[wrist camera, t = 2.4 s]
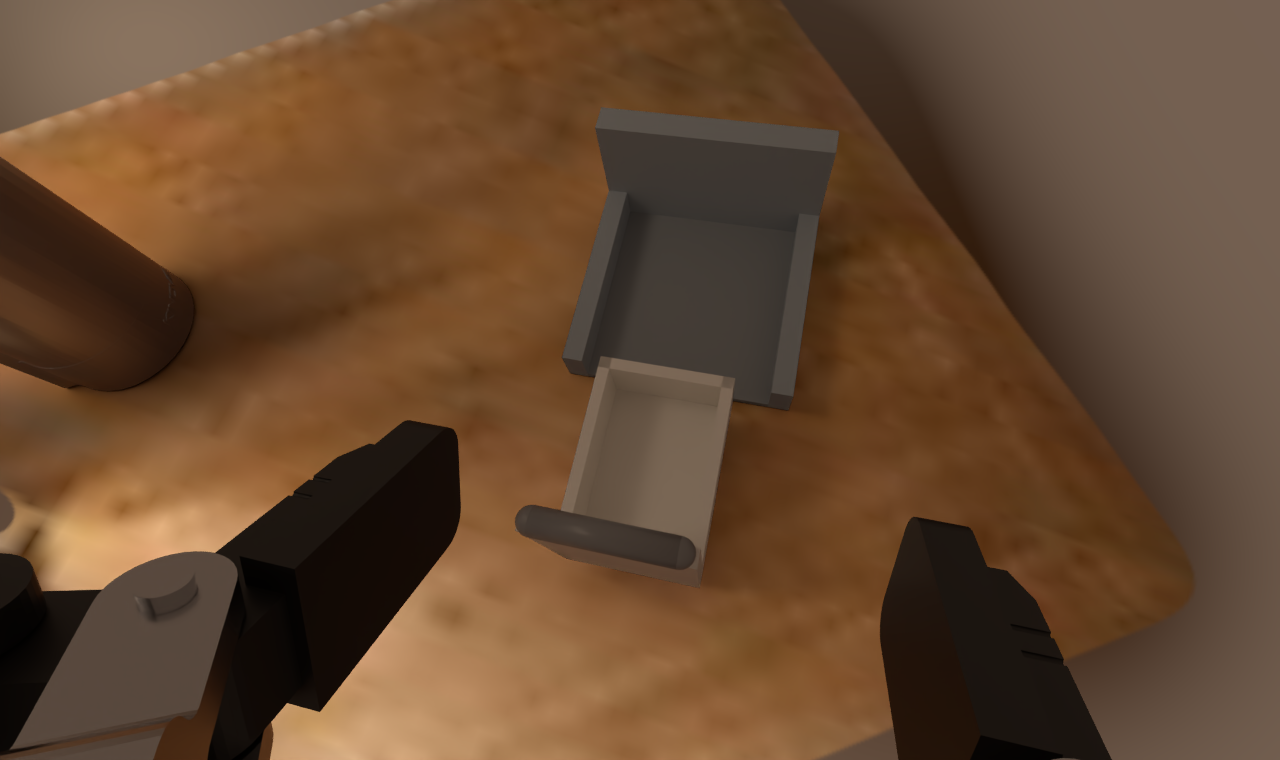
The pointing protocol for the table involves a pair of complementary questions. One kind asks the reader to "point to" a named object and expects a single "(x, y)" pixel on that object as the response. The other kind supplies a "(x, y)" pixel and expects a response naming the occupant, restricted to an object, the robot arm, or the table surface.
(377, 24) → the table surface
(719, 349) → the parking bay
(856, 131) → the table surface
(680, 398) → the toy cart
